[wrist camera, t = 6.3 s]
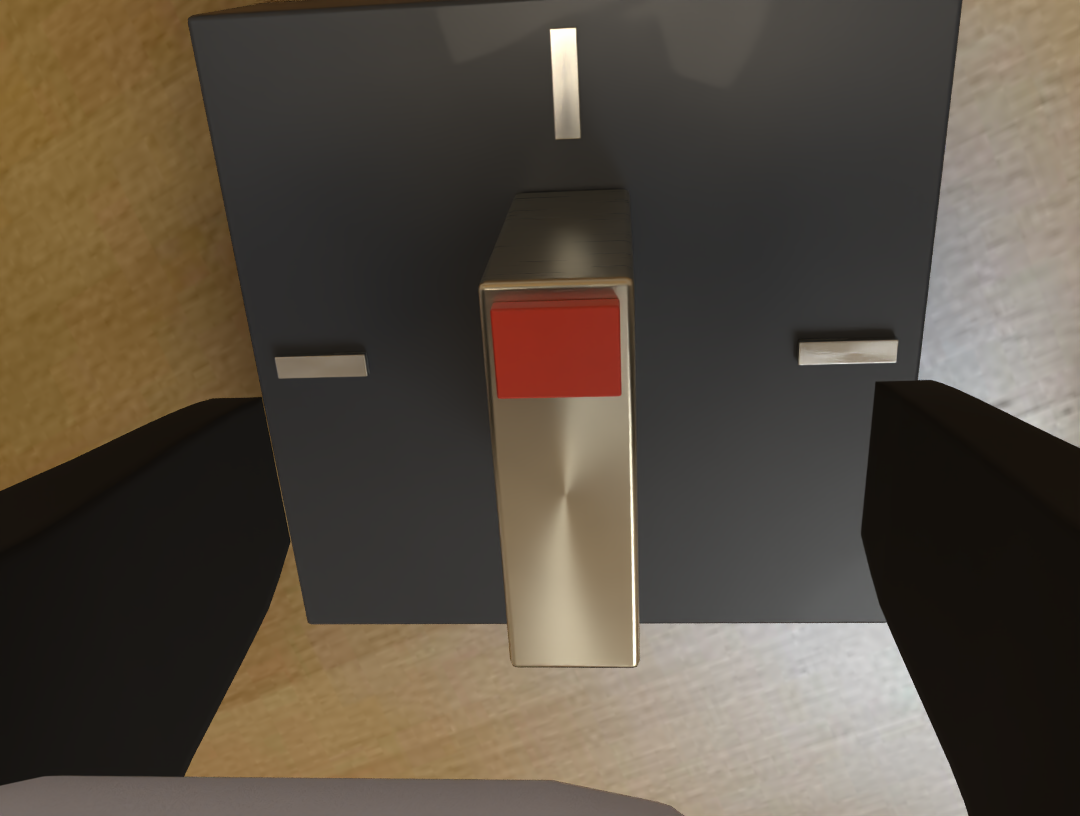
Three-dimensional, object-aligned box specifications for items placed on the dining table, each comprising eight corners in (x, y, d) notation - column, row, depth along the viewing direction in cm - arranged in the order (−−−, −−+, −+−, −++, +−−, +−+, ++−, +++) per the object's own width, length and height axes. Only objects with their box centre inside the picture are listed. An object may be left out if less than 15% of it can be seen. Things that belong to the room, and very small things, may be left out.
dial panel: (349, 533, 20) (304, 631, 17) (259, 2, 16) (178, 17, 13) (851, 527, 19) (892, 631, 16) (903, -37, 15) (972, -32, 12)
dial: (634, 501, 15) (639, 684, 12) (535, 501, 16) (507, 684, 12) (629, 187, 13) (633, 285, 10) (514, 191, 13) (473, 291, 10)
